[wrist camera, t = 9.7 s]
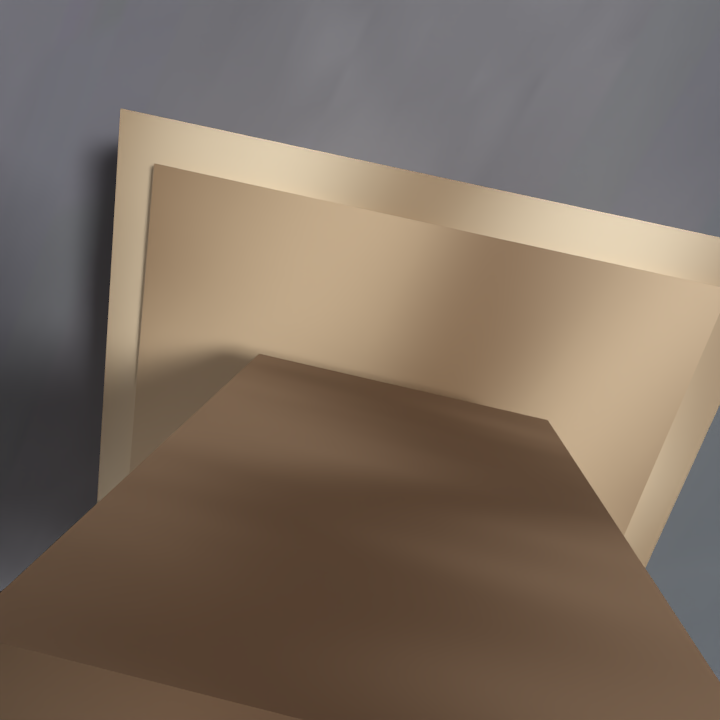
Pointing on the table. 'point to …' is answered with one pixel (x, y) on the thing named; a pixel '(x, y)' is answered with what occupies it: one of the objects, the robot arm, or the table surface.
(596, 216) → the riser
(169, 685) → the walnut block
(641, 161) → the table surface
